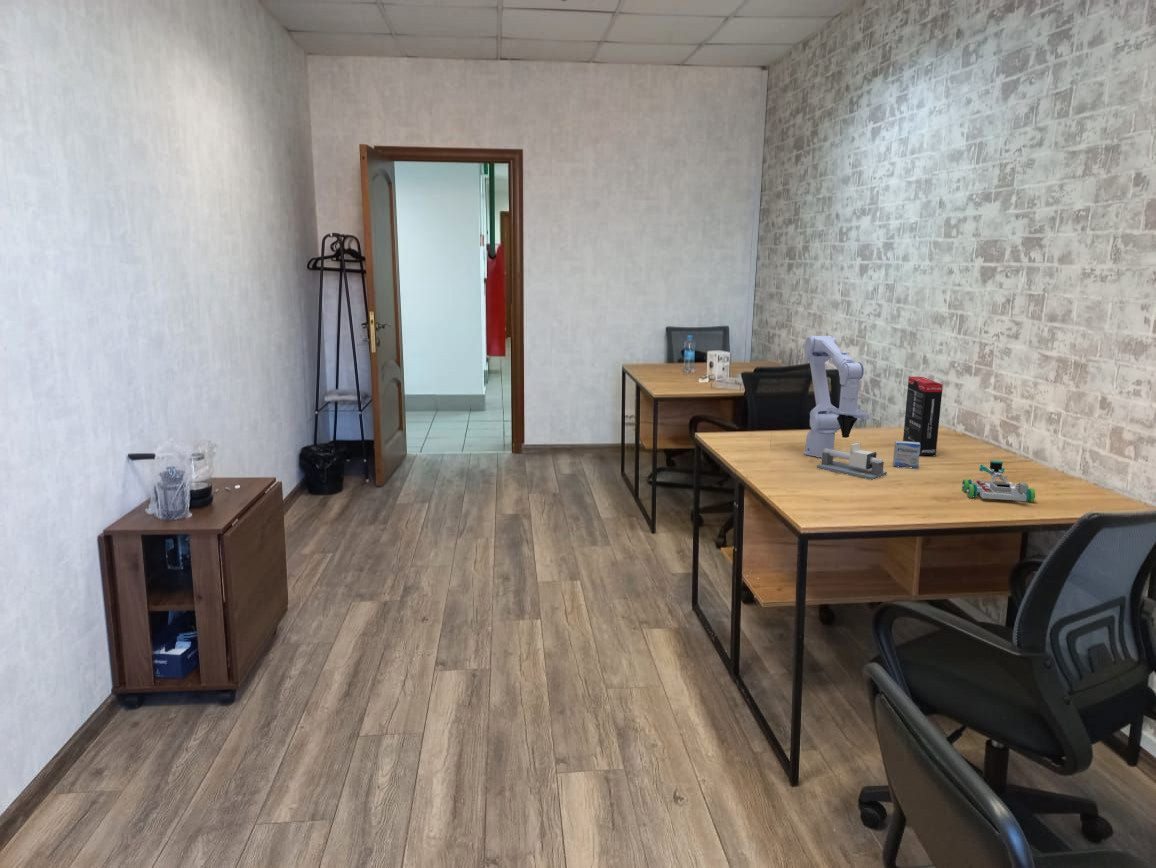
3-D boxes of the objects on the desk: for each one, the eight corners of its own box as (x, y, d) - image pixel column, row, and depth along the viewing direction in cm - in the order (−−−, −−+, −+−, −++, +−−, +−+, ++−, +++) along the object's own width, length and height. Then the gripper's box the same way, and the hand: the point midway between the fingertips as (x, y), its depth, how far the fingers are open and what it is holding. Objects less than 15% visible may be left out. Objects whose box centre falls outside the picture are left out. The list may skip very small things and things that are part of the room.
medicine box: (893, 467, 273) (896, 442, 272) (892, 464, 278) (895, 439, 276) (918, 469, 271) (920, 444, 269) (916, 465, 275) (919, 441, 274)
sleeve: (848, 465, 264) (850, 444, 263) (855, 462, 268) (857, 442, 266) (865, 468, 260) (867, 447, 259) (872, 466, 263) (874, 445, 262)
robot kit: (1013, 484, 254) (1017, 456, 252) (1039, 507, 231) (1043, 476, 229) (951, 480, 258) (954, 452, 256) (970, 502, 235) (973, 471, 233)
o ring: (865, 469, 260) (866, 454, 259) (872, 466, 264) (874, 451, 262) (868, 470, 259) (869, 454, 258) (875, 467, 263) (877, 452, 262)
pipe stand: (816, 468, 270) (818, 450, 269) (831, 463, 277) (833, 445, 276) (872, 480, 256) (874, 461, 255) (886, 474, 263) (888, 456, 262)
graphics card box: (937, 457, 288) (945, 383, 283) (917, 456, 289) (925, 382, 283) (918, 446, 305) (925, 376, 299) (900, 446, 305) (907, 376, 299)
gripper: (823, 396, 271) (820, 435, 274) (863, 402, 260) (859, 442, 263) (834, 394, 275) (830, 432, 278) (873, 399, 265) (869, 439, 268)
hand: (845, 437), depth 271 cm, fingers closed
